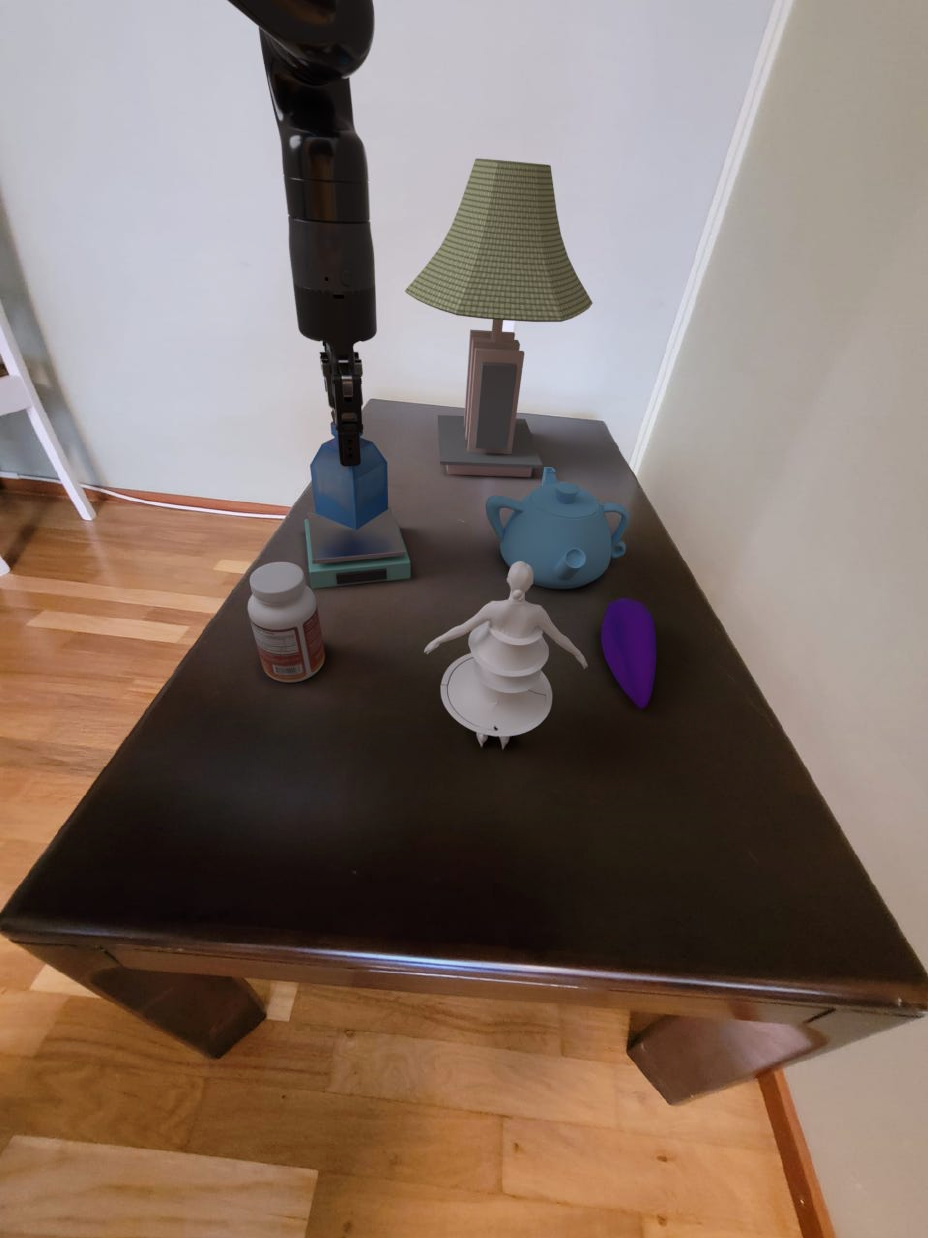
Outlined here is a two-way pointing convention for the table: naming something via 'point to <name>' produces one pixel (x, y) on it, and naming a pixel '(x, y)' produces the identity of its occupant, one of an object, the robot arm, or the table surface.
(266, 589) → the pill bottle
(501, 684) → the figurine
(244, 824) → the table surface
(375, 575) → the scale
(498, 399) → the desk lamp
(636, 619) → the purple teardrop shape
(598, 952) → the table surface
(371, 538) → the pan
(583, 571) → the teapot
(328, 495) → the perfume bottle
